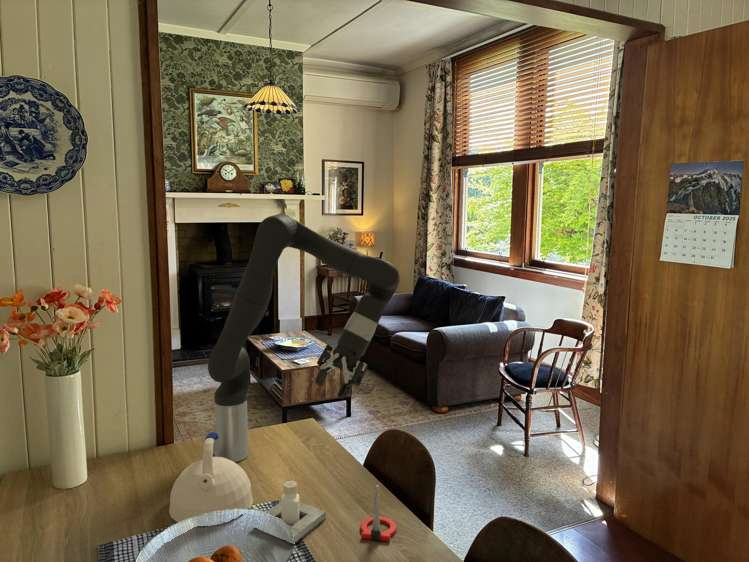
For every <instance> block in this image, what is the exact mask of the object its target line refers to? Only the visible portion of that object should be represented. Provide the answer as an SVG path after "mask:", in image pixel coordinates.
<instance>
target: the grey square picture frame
mask: <svg viewBox="0 0 749 562" xmlns="http://www.w3.org/2000/svg"><path fill="white" fill-rule="evenodd" d="M265 512H266V513H269V514H271V515H272V516H275V517H278V518H281V519H282V506H281V501H280V502H278V503H277V504H275V505H274V506H272V507H271V508H270V509H268V510H267V511H265ZM326 515H327V512H326V511H325V510H322V509H319V508H318V507H314V506H311V505H309V504H307V503H303V502H301V501H299V521H298V522H297V523H295V524H294V525H288V524H287V525H288V526H289V528H290V529H291V531H292V533H293V536H294V540H295V542H297V541H298V540H299V539H301V538H302V539H303V538H305V537H306V536H307V535H309V533H311V532H313V530H315V529H316V528H317V527H318V526H320V525H321V524H322V523H323V522H325V520H327V517H326ZM302 539H301V540H302ZM298 542H299V541H298ZM298 542H297V543H298Z"/></svg>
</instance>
